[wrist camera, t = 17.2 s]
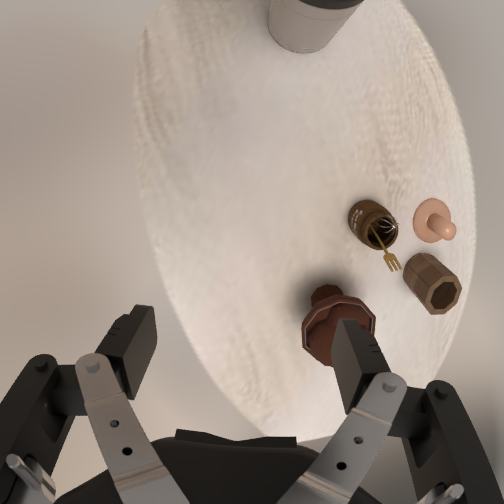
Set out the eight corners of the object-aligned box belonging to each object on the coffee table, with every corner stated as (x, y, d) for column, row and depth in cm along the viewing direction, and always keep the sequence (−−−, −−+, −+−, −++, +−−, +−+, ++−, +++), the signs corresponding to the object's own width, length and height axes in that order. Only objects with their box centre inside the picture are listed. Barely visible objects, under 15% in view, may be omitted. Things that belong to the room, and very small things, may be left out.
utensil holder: (381, 195, 44) (417, 217, 32) (384, 234, 46) (417, 266, 35) (345, 202, 44) (372, 226, 33) (349, 241, 46) (375, 275, 35)
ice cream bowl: (332, 255, 47) (359, 306, 33) (370, 300, 50) (401, 355, 36) (280, 297, 50) (287, 358, 36) (322, 336, 53) (338, 398, 39)
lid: (417, 195, 43) (435, 204, 38) (451, 201, 43) (471, 211, 38) (408, 238, 46) (425, 252, 40) (442, 242, 46) (460, 255, 41)
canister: (408, 251, 47) (433, 275, 38) (438, 254, 47) (465, 276, 38) (399, 287, 49) (420, 314, 41) (429, 287, 49) (452, 313, 41)
